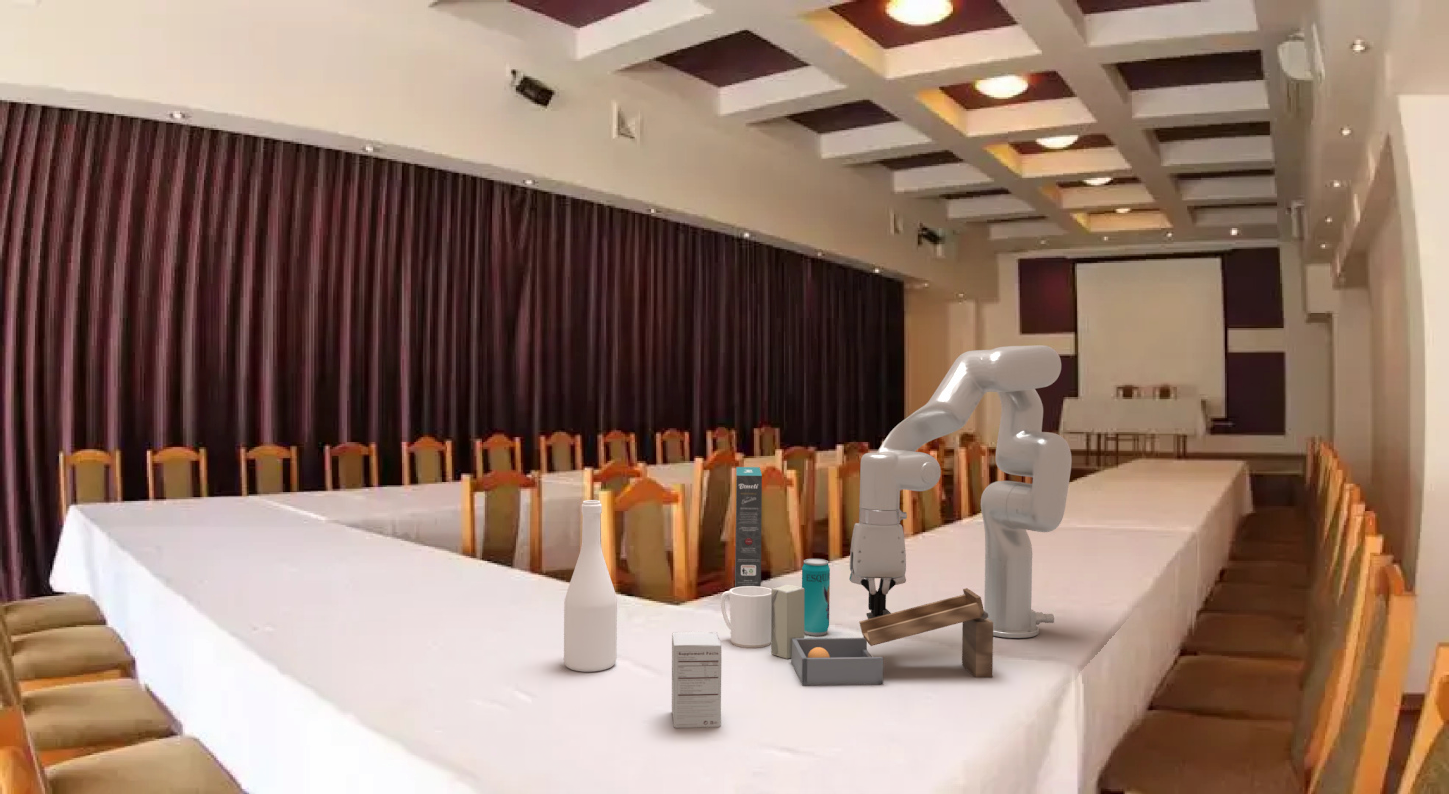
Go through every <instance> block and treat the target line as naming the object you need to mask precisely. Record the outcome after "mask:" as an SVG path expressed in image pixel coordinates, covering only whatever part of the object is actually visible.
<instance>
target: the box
mask: <svg viewBox="0 0 1449 794" xmlns="http://www.w3.org/2000/svg"><path fill="white" fill-rule="evenodd" d="M770 589H771V604H772V605H771V643H770V646H771V647H770V648H771V649H770V652H771V655H773V656H777V657H780V658H783V659H787V660H788V659H790V658H791V641H792V638H805V633H804V588H802V586H797V585H794V584H793V585H792V584H784V585H781V586H777V587H773V588H770Z"/></svg>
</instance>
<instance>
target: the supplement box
mask: <svg viewBox="0 0 1449 794" xmlns="http://www.w3.org/2000/svg"><path fill="white" fill-rule="evenodd" d="M722 661H723V660H722V642H721V641H720V637H719V634H718V632H716V631H688V632H687V631H685V632H684V631H683V632H682V631H680V632H679V631H678V632H672V634H671V713H672V721H673V728H676V729H677V728H679V729H680V728H681V729H682V728H684V729H686V728H688V729H691V728H719V727H721V725H722Z"/></svg>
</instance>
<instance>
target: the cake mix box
mask: <svg viewBox="0 0 1449 794" xmlns="http://www.w3.org/2000/svg"><path fill="white" fill-rule="evenodd" d="M735 479H736V482H735V564H734V566H735V567H734V568H735V569H734V570H735V571H734V572H735V573H734V576H735V579H734V580H735V583H734V586H735V587H734V588H736V587H743V586H758V587H762V513H763V512H762V507H763V506H762V505H763V503H762V502H763V500H762V499H763V487H762V486H763V485H762V484H763V475H762V471H761V468H760V467H759V466H758V467H757V466H756V467H755V466H750V467H749V466H736V477H735Z"/></svg>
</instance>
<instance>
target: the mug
mask: <svg viewBox="0 0 1449 794" xmlns="http://www.w3.org/2000/svg"><path fill="white" fill-rule="evenodd" d="M771 589H772V588H769V587H764V586H761V587H758V586H743V587H736V588H735V587H732V588H730V589H729V590H727V591H724V592H723V593H722V594H721V596H720V598H719V599H720V600H719V601H720V609H721V613H722V616H723V620H724V622H725V624H726V627H727V628H728V629H729V631H730V642H731V644H732V645H734V646H736V647H740V648H743V649H759V648H760V649H761V648H765V647H768V646H771V605H772V604H771ZM726 597H729V616H730V617H729V618H728V614H727V610H726V603H725V601H726V600H725V599H726ZM729 619H730V620H729Z"/></svg>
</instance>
